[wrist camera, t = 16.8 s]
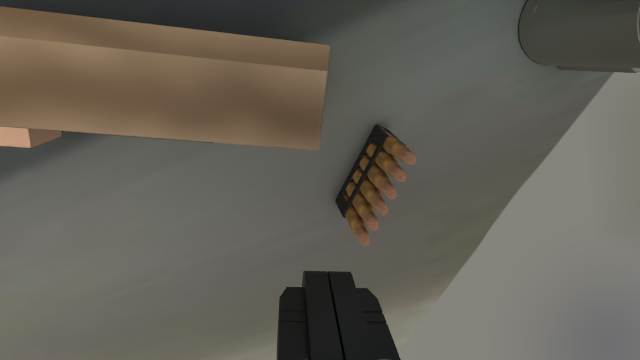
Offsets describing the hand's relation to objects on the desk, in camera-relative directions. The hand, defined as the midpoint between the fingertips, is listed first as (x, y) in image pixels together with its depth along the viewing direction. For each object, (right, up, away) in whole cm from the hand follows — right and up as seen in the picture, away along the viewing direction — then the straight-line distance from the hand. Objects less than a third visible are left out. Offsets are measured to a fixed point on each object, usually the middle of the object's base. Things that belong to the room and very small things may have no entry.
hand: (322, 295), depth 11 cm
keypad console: (-17, +15, +26) cm, 34 cm away
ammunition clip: (+5, +5, +32) cm, 33 cm away
